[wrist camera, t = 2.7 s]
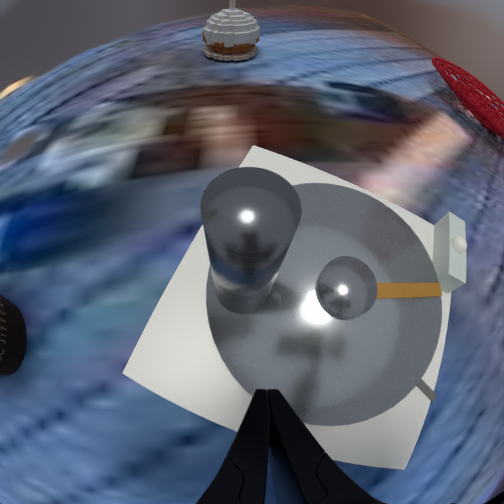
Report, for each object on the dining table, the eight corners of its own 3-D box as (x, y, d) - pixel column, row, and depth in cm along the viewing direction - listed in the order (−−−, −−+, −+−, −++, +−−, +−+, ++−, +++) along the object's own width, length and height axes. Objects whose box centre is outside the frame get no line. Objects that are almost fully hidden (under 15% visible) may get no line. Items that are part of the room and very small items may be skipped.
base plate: (400, 466, 13) (434, 479, 9) (128, 373, 15) (99, 371, 11) (449, 243, 21) (476, 221, 17) (252, 153, 23) (256, 116, 19)
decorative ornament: (243, 43, 35) (248, -34, 22) (266, 59, 32) (276, -29, 19) (197, 50, 33) (196, -32, 20) (215, 67, 30) (216, -30, 17)
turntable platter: (408, 206, 21) (467, 130, 12) (435, 399, 14) (541, 389, 5) (218, 188, 20) (215, 74, 11) (202, 424, 13) (162, 484, 5)
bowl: (527, 153, 36) (537, 141, 31) (514, 185, 28) (531, 168, 23) (449, 74, 46) (456, 61, 41) (401, 72, 37) (409, 52, 33)
